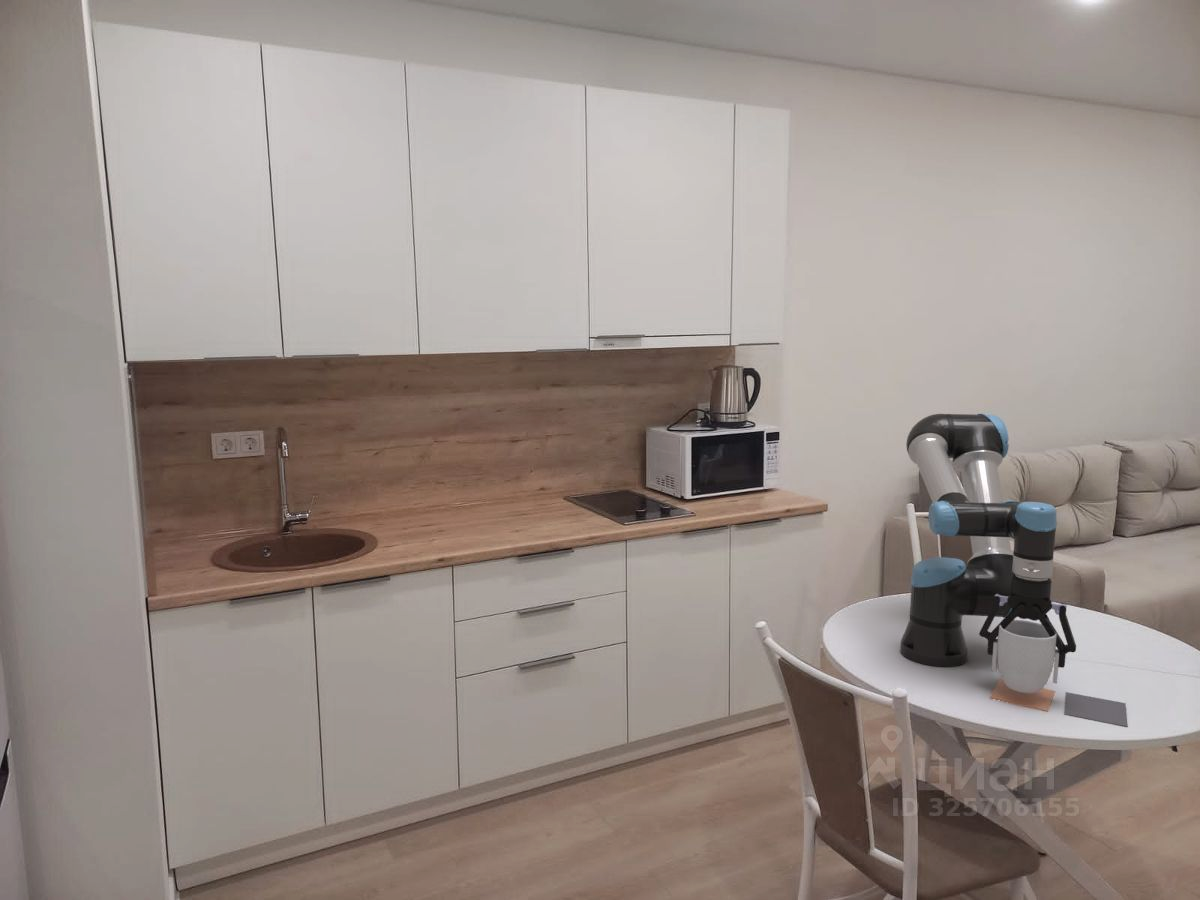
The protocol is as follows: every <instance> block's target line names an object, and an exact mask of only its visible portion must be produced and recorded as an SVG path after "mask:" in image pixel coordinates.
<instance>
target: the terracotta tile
mask: <svg viewBox="0 0 1200 900" xmlns="http://www.w3.org/2000/svg"><path fill="white" fill-rule="evenodd" d="M1055 693H1056V690H1052V689H1049V688H1044V687H1043V688H1042V689H1041V690H1040V691H1039V692H1037V693H1022V692H1018V691H1015V690H1012V689H1010V688H1009V687H1007V685H1006V684H1005V683H1004V681H1003V679H1002V678H999V680H998V681H997V683H996V685H995V687H994V689H993V691H992V692H991V695H990V696H989V699H990V698H991V699H990V700H993V699H995V700H994V701H998V700H1000V701H999V702H1002V701H1003V702H1002V703H1006V702H1008V704H1010V705H1017V706H1019V705H1020V707H1025V708H1029V709H1033V710H1036V711H1037V710H1038V711H1041V712H1045V713H1047V712H1049V709H1050V707H1051V703H1052V701H1053V698H1054V696H1055Z"/></svg>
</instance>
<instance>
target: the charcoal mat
mask: <svg viewBox="0 0 1200 900" xmlns="http://www.w3.org/2000/svg"><path fill="white" fill-rule="evenodd" d="M1127 714H1128V713H1127V704H1126V702H1121V701H1116V700H1110V699H1105V698H1100V697H1095V696H1094V697H1093V696H1089V695H1083V694H1078V693H1072V692H1068V691H1066V692H1065V697H1064V713H1063V715H1064V716H1069V717H1073V718H1079V719H1084V720H1088V721H1089V720H1090V721H1093V722H1094V721H1095V722H1099V723H1104V724H1108V725H1114V726H1119V727H1123V728H1129V724H1128V715H1127Z"/></svg>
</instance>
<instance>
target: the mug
mask: <svg viewBox="0 0 1200 900" xmlns="http://www.w3.org/2000/svg"><path fill="white" fill-rule="evenodd" d="M999 623H1000V622H999ZM1000 624H1001V623H1000ZM1057 633H1058V632H1057ZM1057 633H1056V634H1055V635H1054V636H1052V637H1050V636H1049V634H1048V633H1047V631H1046V629H1045V628H1044V626H1043V625H1042V624H1041V623H1040V622H1036V621H1035V622H1034V621H1030V620H1024V619H1014V620H1013V621H1012V622H1011V623H1010V624H1009V625H1008V626H1007V627H1006V628H1005V629H1003V628H1002V627H1001V625H999V634H998V637H997V639H998V644H997V645H998V646H997V654H998V656H997V657H998V658H997V666H998V670H999V674H1000V676H1001V679H1003V681H1004V683H1005V684H1006V685H1007V687H1009V688H1010V689H1012V690H1015V691H1018V692H1022V693H1037V692H1039V691H1040V690H1041V689H1042V688H1044V687H1045V685H1046V684H1047V683H1048V681H1049V679H1050V677H1051V674H1052V671H1053V669H1054V660H1055V651H1056V649H1057V647H1056V637H1057ZM1046 686H1047V685H1046Z"/></svg>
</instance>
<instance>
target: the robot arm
mask: <svg viewBox="0 0 1200 900" xmlns="http://www.w3.org/2000/svg"><path fill="white" fill-rule="evenodd" d="M1009 441H1010V440H1009V433H1008V429H1007V427H1006V425H1005V423H1004V421H1003V420H1002V418H1001V417H999V416H997V415H995V414H994V415H993V414H985V413H977V414H968V413H967V414H966V413H965V414H963V413H935V414H930V415H928V416H926V417H924V418H921V420H919V421H918V422H917V423H916V424H914V426H913V427H912V428H911V430H910V431H909V433H908V436H907V439H906V444H905V445H906V451H907V455H908V456H909V459H910V460H911V462H913V464H915V465H917V467H918V470H919V472H920V475H921V477H922V480H923V482H924V485H925V487H926V490H927V492H928V495H929V497H930V500H931V504H930V506H929V509H928V513H927V514H928V524H929V525H928V526H929V530H930V531H931V532H932V533H933V534H934V535H938V536H939V535H941V536H942V535H943V536H947V537H970V544H971V551H972V556H971V557H970V558H969V559H968V560H967V565H966V562H964V561H963V560H962V559H959V558H955V557H951V558H950V557H945V556H944V557H943V556H941V557H940V556H939V557H931V558H926V559H923V560H922V559H921V560H920V561H918V562H916V563H915V564H914V566H913V567H912V573H911V580H910V586H911V587H910V602H909V604H910V607H909V619H908V620H909V621H908V623H907V626H906V628H905V631H904V633H903V634H902V638H901V639H900V644H899V645H900V650H899V651H900V654H901V655H902V656H904V657H905V658H907V659H908V660H911V661H913V662H916V663H920V664H923V665H928V666H935V667H957V666H961V665H963V664H965V663H966V662H967V661H968V653H969V651H968V647H967V643H966V640H965V636H964V632H963V629H962V622H963V621H962V619H963V616H975V617H986V619H985V621H984V623H983V624H982V627H981V629H980V631H979V633H978V634H979V636H980V637H981V638H985V639H986V640H987V652H986V653H987V655H990V656H992V661H991V672H996V671H997V668H998V657H997V656H998V654H997V646H998V645H997V644H998V634H999V625H1001V627H1002V628H1003V629H1005V628H1006V627H1007V626H1008V625H1009V624H1010V623H1011V622H1012V621H1013V620H1016V619H1017V618H1019V619H1020V620H1029V621H1030V620H1031V621H1032V622H1034V621H1035V622H1037V621H1039V623H1040V624H1042V625H1043V626H1044V628H1045V629H1046V631H1047V633H1048V634H1049V636H1050V637H1052V636H1054V635H1055V634H1056V633H1057V637H1056V651H1055V657H1054V663H1053V675H1052V684H1057V683H1058V675H1059V668H1065V665H1066V654H1067V653H1076V652H1077V651H1076V650H1077V644H1076V642H1075V638H1074V635H1073V631H1072V628H1071V625H1070V623H1069V620H1068V616H1067V607H1068V606H1067V603H1064V602H1061V603H1060V604H1059V603H1055V602H1053V601H1052V600H1051V595H1052V594H1051V591H1052V579H1051V578H1052V577H1053V570H1054V568H1053V567H1054V551H1055V542H1056V541H1055V540H1056V533H1057V531H1056V529H1057V525H1058V521H1057V509H1056V507H1055V506H1054V505H1052V504H1050V503H1046V502H1039V501H1022V502H1021V501H1018V500H1013V499H1009V500H1003V499H1004V498H1003V493H1002V487H1001V480H1000V475H999V470H998V469H999V468H998V467H999V466H1000V465H1002V463H1003V460H1004V458H1005V457H1006V456H1007V455H1008V453H1009V452H1008V451H1009V448H1010V447H1009ZM951 459H952V461H951ZM952 462H953V464H952ZM955 469H956V470H957V471H959V472H960V473H961V480H960V479H959V477H958V475H957V472H956V470H955ZM961 481H962V482H961ZM1010 538H1012V539H1013V552H1012V548H1011V542H1010ZM1050 610H1053V611H1054V613H1055V615H1058V619H1059V622H1060V625H1061V629H1062V632H1063V634H1064V638H1065V640H1066V641H1065V642H1066V644H1065V643H1064V641H1063V640H1062V638H1061V636H1060V635H1059V632H1058V631H1057V630H1056V628H1055V626H1054V625H1053V623H1052V622H1051V621H1050V618H1049V616H1048V612H1050ZM996 617H997V618H998V617H999V618H1003V619H1002V620H1001V621H1000V622H999V623H998V624H997V625H996V626H995V628H994V629H993V630H992V631H991V632H990V631H989V629H990V627H991V625H992V624H993V621H994V619H995V618H996ZM1000 623H1001V624H1000Z"/></svg>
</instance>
